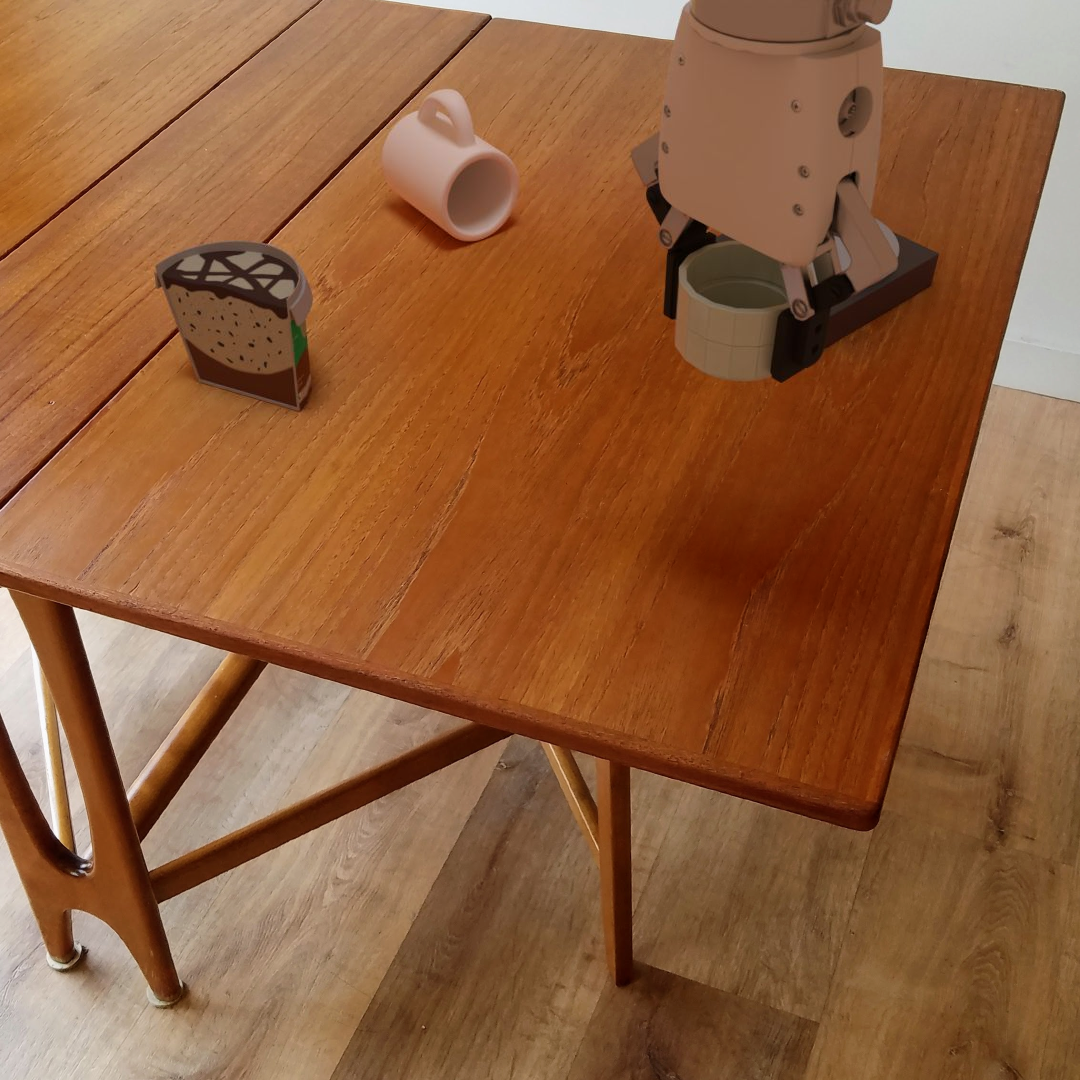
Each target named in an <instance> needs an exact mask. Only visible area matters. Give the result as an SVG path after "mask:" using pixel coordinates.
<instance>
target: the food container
mask: <svg viewBox="0 0 1080 1080" xmlns="http://www.w3.org/2000/svg"><path fill="white" fill-rule="evenodd" d="M154 268H155V271H153V272H154V283H155V289H157V290H160V289H161V288H162V290H163V293H164V296H165V298H166V300H167V303H168V306H169V308H170V312H171V314H172V316H173V319H174V322H175V325H176V327H177V330H178V333H179V336H180V337H181V341H182V343H183V345H184V348H185V351H186V354H187V356H188V359H189V361H190V364H191V367H192V369H193V372H194V375H195V377H196V380H197V382H198V383H200V384H203V385H208V386H211V387H215V388H217V389H222V390H225V391H228V392H232V393H234V394H239V395H242V396H245V397H249V398H251V399H255V400H259V401H261V402H266V403H269V404H271V405H275V406H279V407H281V408H285V409H289V410H293V411H296V412H299V413H301V411H303V409H304V408H305V407H306V406H307V404H308V402H309V399H310V396H311V393H312V390H313V388H312V377H311V366H310V353H309V342H308V331H307V318H308V316H309V314H310V312H311V309H312V307H313V302H314V300H313V299H314V296H313V291H312V288H311V286H310V283H309V281H308V278H307V276H306V274H305V272H304V270H303V269H302V267H301V265H299V264H298V263H297V261H296V259H295V258H293V256H292V255H291V254H289V253H287V252H286V251H285V250H283V249H281V248H279V247H277V246H275V245H271V244H268V243H263V242H259V241H253V240H251V241H250V240H223V241H222V240H221V241H214V242H208V243H207V242H206V243H203V244H199V245H195V246H191V247H188V248H186V249H183V250H180V251H178V252H175V253H173V254H171V255H169V256H168V257H166V258H163V259H162V260H161V261H159V262H157V263H156V264H154Z"/></svg>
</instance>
